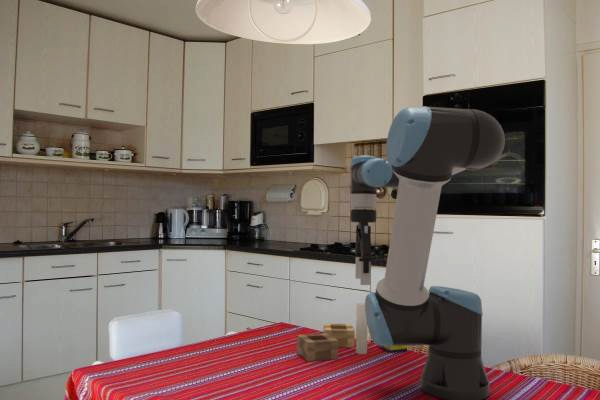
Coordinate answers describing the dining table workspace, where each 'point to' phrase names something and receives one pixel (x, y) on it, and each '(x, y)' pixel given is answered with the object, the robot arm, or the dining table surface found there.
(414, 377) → the dining table surface
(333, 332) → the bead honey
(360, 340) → the needle dowel
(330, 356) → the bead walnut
